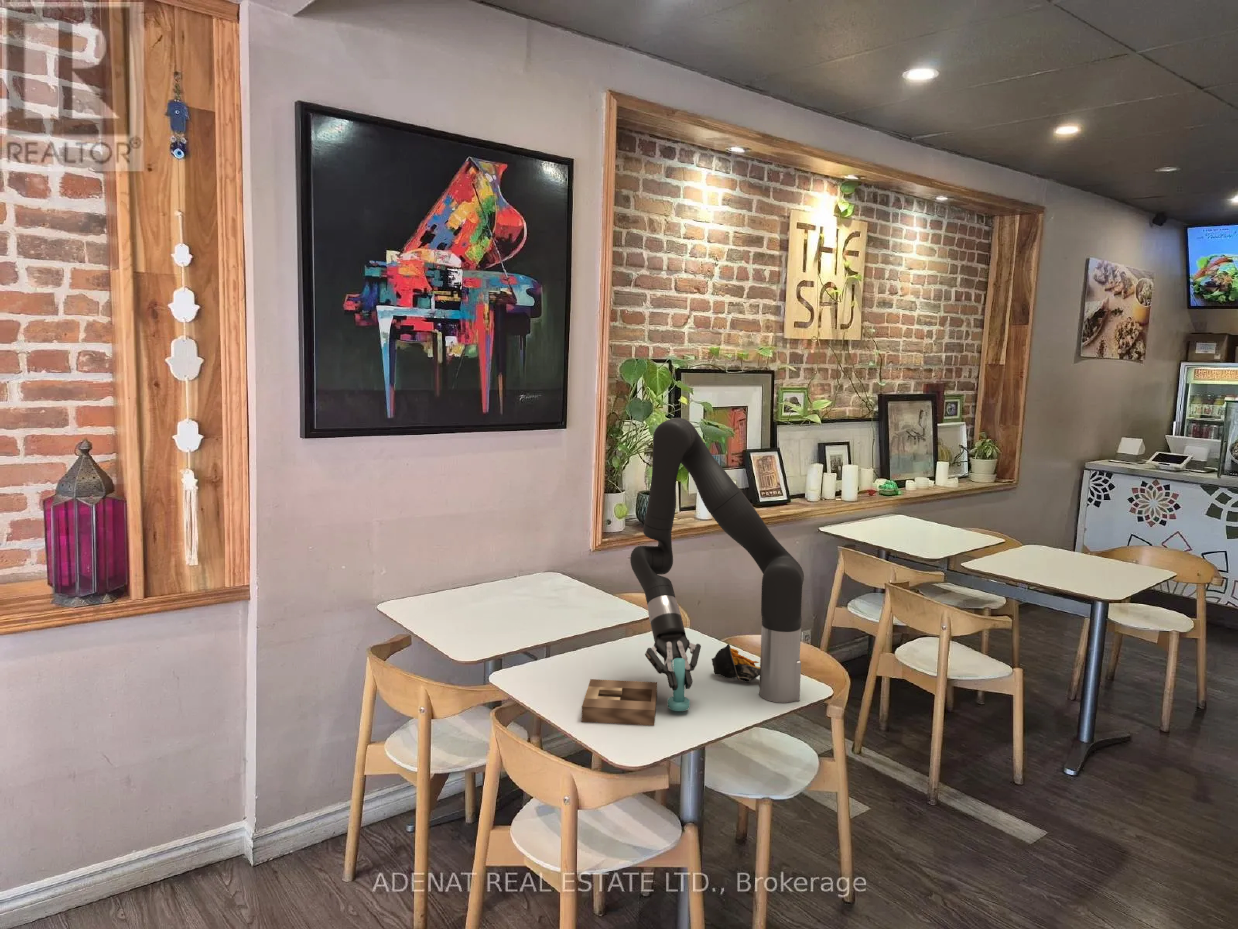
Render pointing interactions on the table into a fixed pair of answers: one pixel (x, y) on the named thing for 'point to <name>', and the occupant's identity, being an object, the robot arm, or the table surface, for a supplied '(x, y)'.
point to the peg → (679, 688)
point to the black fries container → (734, 665)
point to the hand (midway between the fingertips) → (682, 688)
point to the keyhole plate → (620, 702)
